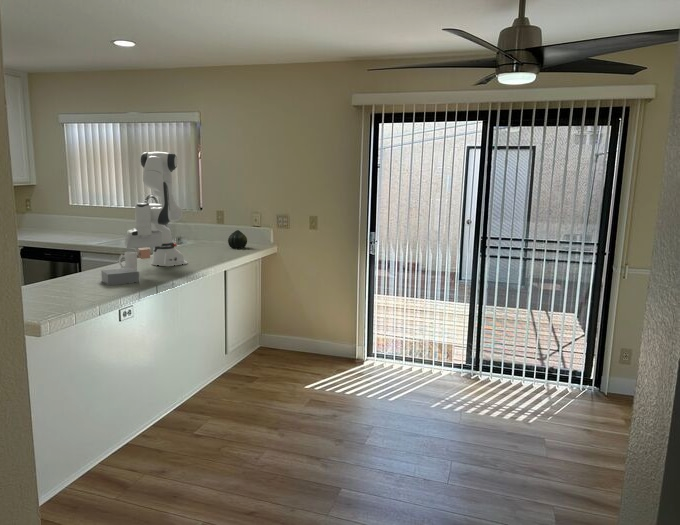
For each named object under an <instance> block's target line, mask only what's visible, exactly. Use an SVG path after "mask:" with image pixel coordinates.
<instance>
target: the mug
mask: <svg viewBox="0 0 680 525" xmlns="http://www.w3.org/2000/svg"><path fill="white" fill-rule="evenodd" d="M122 258H124V265H123V264H122V261H121V260H122ZM118 264H119V266H120V269H124V268H133V269H135V270H136V271H138V256H137V252H136V251H125V252H124V254H120V256H119V258H118Z"/></svg>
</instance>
